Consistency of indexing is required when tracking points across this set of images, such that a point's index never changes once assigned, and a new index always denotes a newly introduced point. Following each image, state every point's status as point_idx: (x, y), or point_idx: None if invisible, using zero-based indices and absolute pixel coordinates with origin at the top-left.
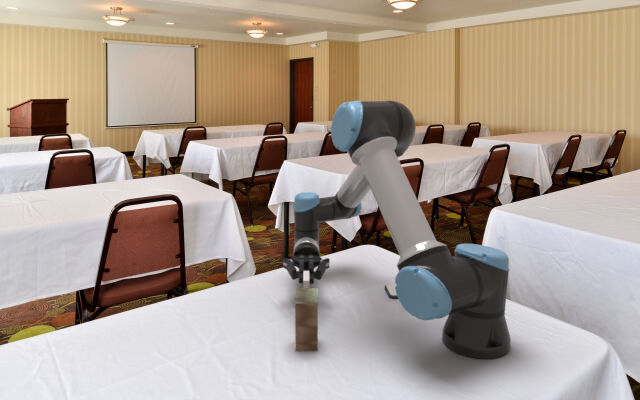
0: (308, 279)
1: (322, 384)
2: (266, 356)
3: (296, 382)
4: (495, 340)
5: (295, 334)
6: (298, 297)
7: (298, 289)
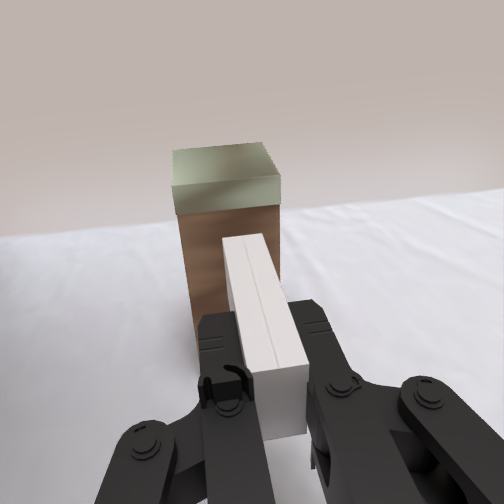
0: (230, 249)
1: None
2: (339, 287)
3: None
4: None
5: None
6: (248, 144)
7: (262, 170)
